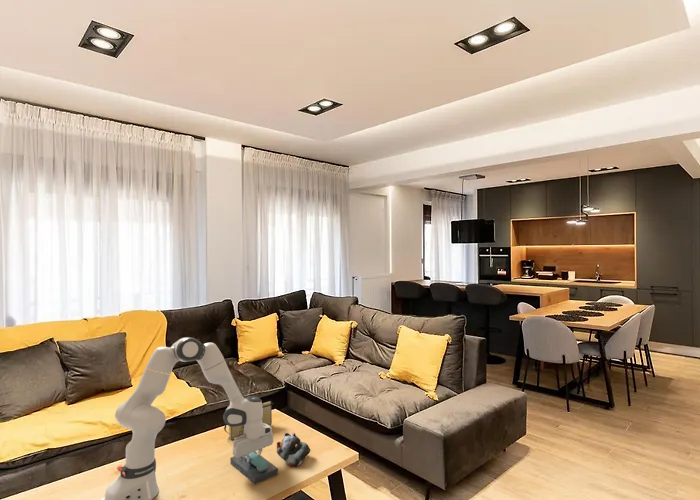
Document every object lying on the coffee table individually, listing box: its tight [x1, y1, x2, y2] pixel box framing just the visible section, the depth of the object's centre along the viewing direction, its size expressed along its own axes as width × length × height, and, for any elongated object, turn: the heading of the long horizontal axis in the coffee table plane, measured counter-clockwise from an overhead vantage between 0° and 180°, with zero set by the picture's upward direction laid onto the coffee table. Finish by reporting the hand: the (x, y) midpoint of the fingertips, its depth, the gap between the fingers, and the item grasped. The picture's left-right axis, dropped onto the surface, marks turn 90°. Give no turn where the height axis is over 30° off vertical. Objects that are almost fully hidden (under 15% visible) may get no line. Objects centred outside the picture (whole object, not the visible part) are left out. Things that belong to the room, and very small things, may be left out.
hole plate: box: [229, 451, 279, 486], centre depth 194 cm, size 12×24×3 cm, turn 43°
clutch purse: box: [223, 400, 274, 441], centre depth 233 cm, size 30×7×15 cm, turn 133°
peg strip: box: [242, 452, 268, 472], centre depth 194 cm, size 4×20×5 cm, turn 43°
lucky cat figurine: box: [276, 432, 312, 468], centre depth 202 cm, size 15×12×14 cm
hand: (253, 459), depth 194 cm, fingers closed on peg strip, 3 cm apart
